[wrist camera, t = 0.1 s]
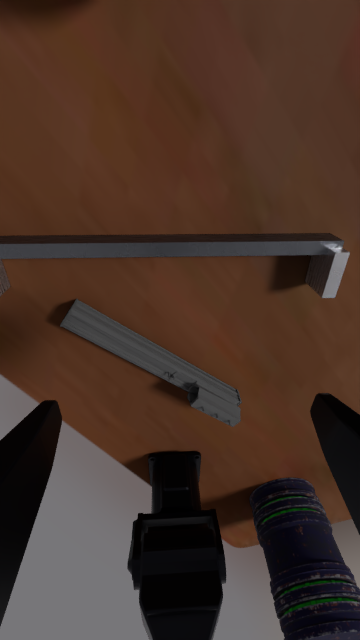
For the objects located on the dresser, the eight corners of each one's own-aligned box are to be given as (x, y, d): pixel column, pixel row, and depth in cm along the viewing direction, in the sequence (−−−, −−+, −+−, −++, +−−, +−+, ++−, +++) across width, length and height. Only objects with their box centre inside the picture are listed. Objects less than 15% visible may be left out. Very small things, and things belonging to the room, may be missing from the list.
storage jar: (313, 471, 40) (385, 625, 27) (315, 504, 45) (376, 647, 32) (243, 486, 41) (280, 641, 28) (253, 516, 46) (288, 659, 33)
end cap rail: (316, 281, 24) (334, 297, 21) (-3, 286, 23) (-24, 304, 20) (330, 233, 22) (352, 245, 19) (-21, 236, 20) (-47, 249, 18)
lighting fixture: (63, 317, 25) (47, 346, 21) (78, 295, 24) (62, 322, 20) (221, 401, 32) (228, 435, 28) (237, 387, 31) (247, 420, 27)
